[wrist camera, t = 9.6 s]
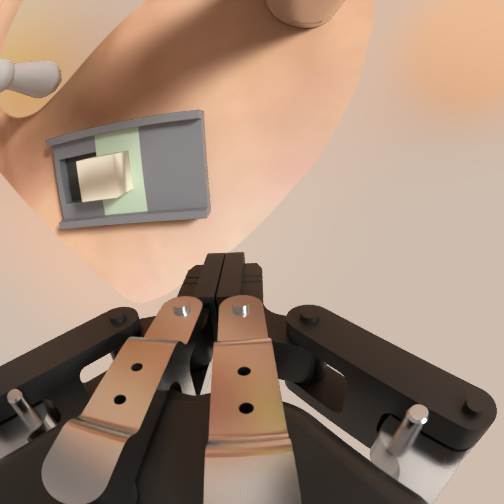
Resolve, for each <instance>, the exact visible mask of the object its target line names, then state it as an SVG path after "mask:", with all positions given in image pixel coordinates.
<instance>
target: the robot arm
mask: <svg viewBox="0 0 504 504" xmlns="http://www.w3.org/2000/svg"><path fill="white" fill-rule="evenodd" d="M344 1H345V0H266V3H267V6H268V8H269V10H270V11H271V13H272V14H273V15H274V16H275V17H276V18H278V19H279V20H281V21H282V22H284V23H286V24H288V25H291V26H295V27H300V28H313V27H317V26H320V25H323V24H325V23H326V22H328V21H329V20H330V19H331V18H332V17H333V16H334V14H335V13H336V12H337V10H338V9H339V8H340V7H341V5H342V4H343V3H344ZM108 353H111V356H112V358H113V363H112V364H111V366H110V367H109V369H108V370H107V371H105V372H104V373H102V374H100V375H99V376H97V377H95V378H93V379H92V380H90V381H88V382H86V383H82V382H81V380H80V372H81V370H82V369H83V368H84V367H85V366H87V365H89V364H90V363H92V362H94V361H96V360H98V359H100V358H101V357H103V356H105V355H107V354H108ZM212 357H213V362H212ZM327 364H328V365H329V366H331V367H333V368H334V369H336V370H338V371H339V372H340V373H342V374H343V375H344V376H342V375H341V374H339V373H337V372H336V371H334V370H333V369H331V368H330V367H328V366H327ZM211 372H212V380H211V393H209V394H206V390H207V387H208V382H209V379H210V376H211ZM278 379H282V380H285V384H286V386H287V387H288V389H289V390H291V391H292V392H293V393H294V394H296V395H297V396H298V397H300V398H301V399H302V400H304V401H305V402H306V403H307V404H309V405H310V406H311V407H313V408H314V409H315V410H317V411H318V412H319V413H321V414H322V415H323V416H325V417H326V418H327V419H329V420H330V421H332V422H333V423H334V424H336V425H337V426H338V427H340V428H341V429H342V430H344V431H345V432H347V433H348V434H350V435H351V436H353V437H354V438H355V439H357V440H358V441H360V442H361V443H363V444H364V445H365V446H367V447H368V448H370V449H371V450H370V459H371V461H369V460H368V459H367V458H365V457H364V456H362V455H361V454H360V453H359V452H357V451H356V450H354V449H353V448H352V447H351V446H349V445H348V444H347V443H345V442H344V441H343V440H342V439H340V438H339V437H338V436H337V435H335V434H334V433H333V432H332V431H330V430H329V429H327V427H325V426H324V425H323V424H322V423H320V422H319V421H318V420H317V419H315V418H314V417H313V416H312V415H310V414H309V413H307V412H306V411H304V410H303V409H301V408H298V407H296V406H294V405H292V404H289V403H286V402H282V397H281V392H280V386H279V380H278ZM496 414H497V408H496V404H495V402H494V400H493V398H492V397H491V396H490V395H489V394H488V393H487V392H485V391H484V390H482V389H480V388H478V387H476V386H474V385H472V384H470V383H468V382H466V381H464V380H462V379H460V378H458V377H456V376H454V375H452V374H450V373H448V372H446V371H444V370H442V369H440V368H438V367H436V366H434V365H432V364H430V363H428V362H426V361H425V360H423V359H421V358H419V357H417V356H415V355H413V354H411V353H409V352H407V351H405V350H403V349H401V348H399V347H397V346H395V345H393V344H392V343H390V342H388V341H386V340H384V339H382V338H380V337H378V336H376V335H374V334H372V333H370V332H369V331H367V330H365V329H363V328H361V327H359V326H357V325H355V324H353V323H351V322H349V321H348V320H346V319H344V318H342V317H340V316H338V315H336V314H334V313H332V312H331V311H329V310H327V309H325V308H323V307H320V306H316V305H302V306H298V307H295V308H293V309H291V310H290V311H289V312H288V314H287V316H284V315H279V314H275V313H273V312H271V311H269V310H267V309H266V308H265V306H264V304H263V282H262V268H261V267H260V266H259V265H258V264H257V263H247V264H245V257H244V252H235V253H226V254H225V253H209V254H207V257H206V260H205V262H204V265H195V266H194V267H193V268H192V269H190V270H189V271H188V273H187V275H186V279H185V280H184V282H183V284H182V287H181V289H180V291H179V294H178V296H177V297H176V298H173V299H171V300H169V301H167V302H165V303H164V305H163V306H162V307H161V309H160V310H159V312H158V314H157V316H153V317H148V318H142V319H139V316H138V313H137V311H136V310H135V309H133V308H130V307H119V308H115V309H112V310H109V311H108V312H106V313H103V314H101V315H100V316H98V317H96V318H94V319H92V320H90V321H88V322H86V323H84V324H82V325H80V326H78V327H76V328H74V329H72V330H70V331H68V332H66V333H64V334H62V335H60V336H58V337H56V338H54V339H52V340H50V341H48V342H46V343H44V344H43V345H41V346H39V347H37V348H35V349H33V350H31V351H29V352H27V353H25V354H24V355H21V356H19V357H17V358H15V359H14V360H12V361H10V362H8V363H6V364H4V365H2V366H0V504H433V503H434V501H435V500H436V499H437V497H438V496H439V494H440V493H441V492H442V490H443V489H444V487H445V486H446V484H447V483H448V481H449V479H450V478H451V476H452V475H453V473H454V472H455V470H456V468H457V467H458V465H459V463H460V462H461V460H462V459H463V458H464V457H465V456H466V455H467V454H468V453H469V452H470V450H471V449H472V448H473V447H474V446H475V444H476V443H477V442H478V441H479V440H480V438H481V437H482V436H483V435H484V433H485V432H486V431H487V430H488V428H489V427H490V426H491V424H492V423H493V421H494V420H495V418H496Z"/></svg>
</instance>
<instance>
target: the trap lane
mask: <svg viewBox="0 0 504 504" xmlns="http://www.w3.org/2000/svg"><path fill="white" fill-rule="evenodd" d="M50 146H53V155H54V163H55V171H56V178H57V184H58V190H59V196H60V201H61V207H62V212H63V217H64V220H62V221H61V222H59V226H60V229H69V228H80V227H91V226H102V225H114V224H127V223H140V222H154V221H169V220H185V219H203V218H207V217H208V215H209V213H210V211H211V206H210V194H209V182H208V170H207V156H206V142H205V127H204V111H201V110H191V111H183V112H175V113H168V114H161V115H154V116H148V117H142V118H136V119H131V120H126V121H121V122H116V123H111V124H106V125H102V126H97V127H93V128H89V129H85V130H81V131H77V132H73V133H69V134H66V135H62V136H59V137H55V138H52V139H48V140H46V147H50ZM122 151H129V159H130V168H131V176H132V184H133V189H131V190H130V191H128V192H126V193H124V194H123V195H121V196H119V197H118V198H111V199H103V200H95V201H87V202H82V198H81V192H80V186H79V179H78V172H77V165H76V161H80V160H84V159H87V158H91V157H95V156H100V155H105V154H111V153H117V152H122Z"/></svg>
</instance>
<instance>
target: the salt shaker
mask: <svg viewBox="0 0 504 504" xmlns="http://www.w3.org/2000/svg"><path fill="white" fill-rule="evenodd" d="M60 83H61V70H60V69H59V67H58V66H57V65H56V64H55V63H54V62H52V61H48V60H43V61H31V62H22V63H15V64H13V62H12V61H10V60H8V59H0V92H2V91H4V90H6V89H8V90H11V91H15V92H18V93H21V94H24V95H28V96H31V97H34V98H43V97H45V96H47V95H49V94H51V93H52V92H54V91H55V90H56V89H57V87H58V86H59V84H60Z"/></svg>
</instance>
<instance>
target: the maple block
mask: <svg viewBox="0 0 504 504" xmlns="http://www.w3.org/2000/svg"><path fill="white" fill-rule="evenodd" d="M76 165H77V172H78V179H79V186H80V192H81V198H82V202H87V201H95V200H103V199H111V198H118V197H119V196H121V195H123V194H124V193H126V192H128V191H130V190H131V189H133V184H132V176H131V168H130V159H129V151H122V152H117V153H111V154H105V155H100V156H95V157H91V158H87V159H84V160H80V161H76Z"/></svg>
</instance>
